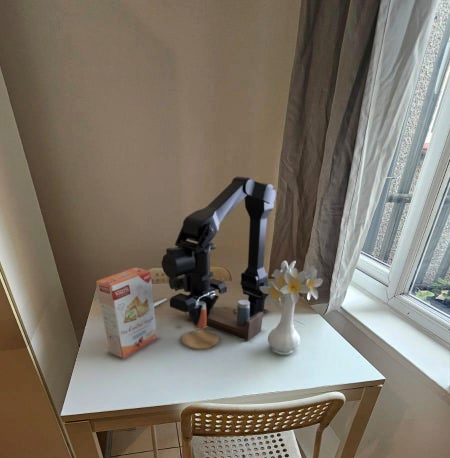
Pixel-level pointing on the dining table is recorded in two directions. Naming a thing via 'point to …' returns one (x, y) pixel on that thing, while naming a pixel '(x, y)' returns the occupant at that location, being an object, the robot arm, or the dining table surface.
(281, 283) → the flower vase
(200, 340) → the cork trivet
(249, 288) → the robot arm
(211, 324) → the spice shelf
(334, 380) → the dining table surface
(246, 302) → the cylinder
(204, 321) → the terracotta shaker
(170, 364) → the dining table surface
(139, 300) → the cracker box
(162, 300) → the butter knife
